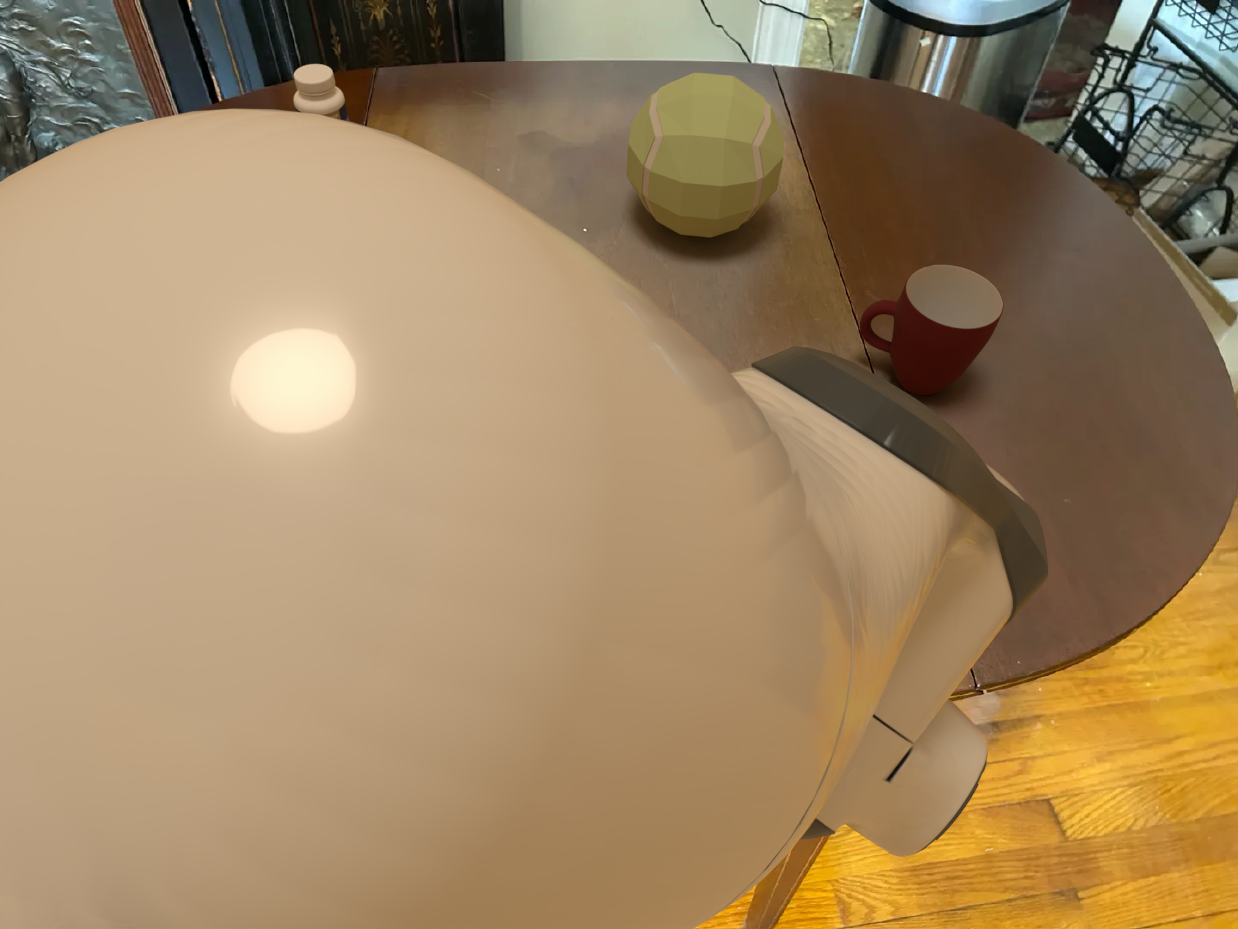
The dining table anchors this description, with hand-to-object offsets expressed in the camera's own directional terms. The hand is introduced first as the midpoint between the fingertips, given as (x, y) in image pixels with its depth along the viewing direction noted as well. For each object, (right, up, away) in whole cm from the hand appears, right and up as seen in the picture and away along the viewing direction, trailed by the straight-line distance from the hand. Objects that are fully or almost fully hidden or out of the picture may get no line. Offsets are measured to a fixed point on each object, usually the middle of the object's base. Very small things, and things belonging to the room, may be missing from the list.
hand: (532, 468), depth 57 cm
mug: (+31, +8, +26) cm, 42 cm away
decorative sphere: (+14, +26, +39) cm, 49 cm away
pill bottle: (-27, +35, +45) cm, 63 cm away
